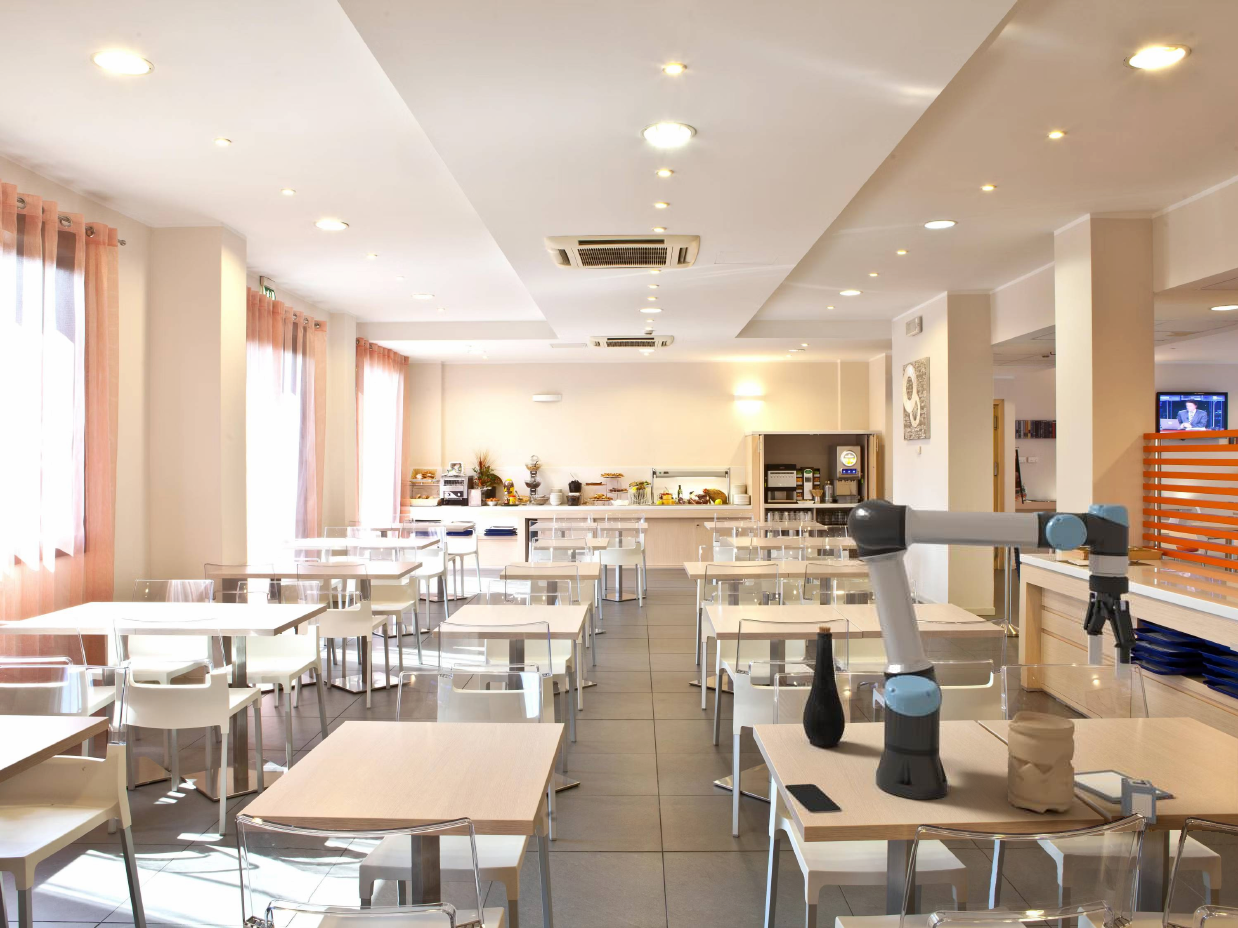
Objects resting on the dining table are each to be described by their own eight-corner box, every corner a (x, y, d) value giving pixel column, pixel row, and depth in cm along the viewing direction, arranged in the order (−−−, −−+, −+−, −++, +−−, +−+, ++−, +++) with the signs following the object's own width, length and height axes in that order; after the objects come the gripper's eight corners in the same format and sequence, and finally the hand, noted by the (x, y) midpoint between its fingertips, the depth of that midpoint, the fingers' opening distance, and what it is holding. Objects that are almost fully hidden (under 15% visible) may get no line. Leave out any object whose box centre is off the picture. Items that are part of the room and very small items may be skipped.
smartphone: (814, 783, 184) (842, 809, 169) (814, 786, 184) (842, 812, 169) (783, 784, 182) (809, 811, 168) (783, 787, 182) (809, 814, 168)
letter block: (1156, 824, 165) (1156, 787, 165) (1127, 820, 166) (1127, 784, 167) (1148, 814, 170) (1149, 778, 170) (1121, 811, 171) (1121, 775, 171)
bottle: (850, 741, 215) (851, 626, 215) (837, 752, 206) (838, 632, 206) (810, 734, 220) (811, 622, 221) (796, 744, 211) (798, 628, 212)
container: (1010, 811, 170) (1010, 723, 171) (1005, 790, 182) (1005, 708, 182) (1079, 820, 166) (1079, 731, 166) (1069, 798, 178) (1069, 715, 178)
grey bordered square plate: (1113, 803, 175) (1113, 800, 175) (1055, 777, 191) (1055, 774, 191) (1173, 797, 179) (1173, 794, 179) (1111, 771, 195) (1111, 769, 195)
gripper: (1155, 581, 168) (1155, 685, 168) (1102, 569, 193) (1101, 659, 192) (1116, 580, 169) (1115, 683, 169) (1068, 568, 194) (1067, 658, 194)
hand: (1108, 671), depth 181 cm, fingers open, 13 cm apart
